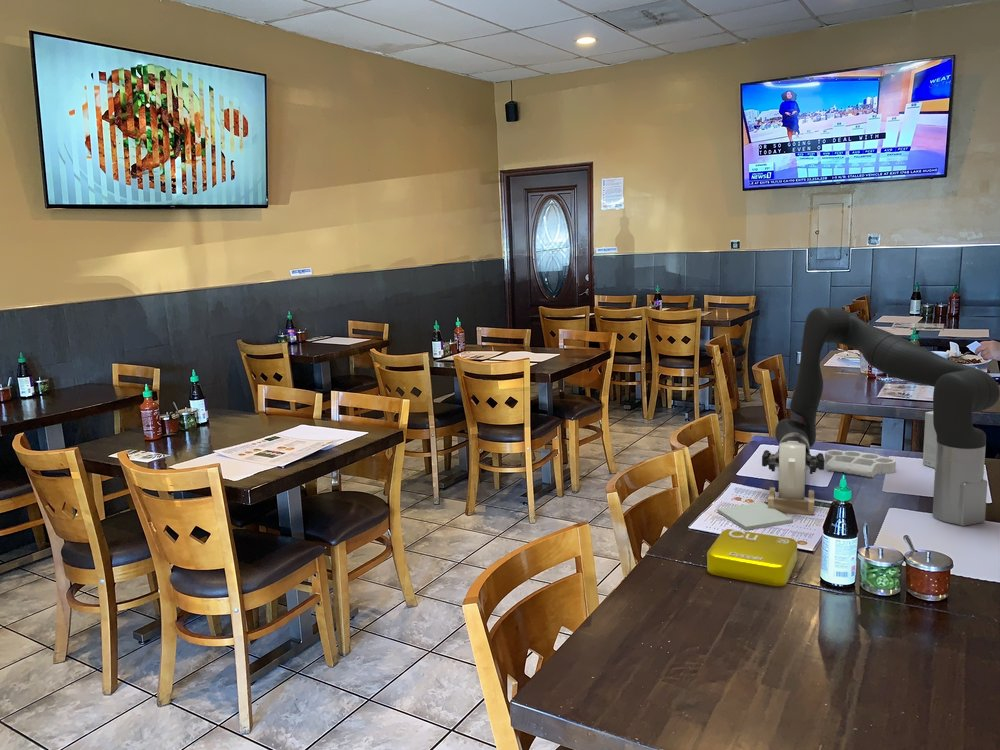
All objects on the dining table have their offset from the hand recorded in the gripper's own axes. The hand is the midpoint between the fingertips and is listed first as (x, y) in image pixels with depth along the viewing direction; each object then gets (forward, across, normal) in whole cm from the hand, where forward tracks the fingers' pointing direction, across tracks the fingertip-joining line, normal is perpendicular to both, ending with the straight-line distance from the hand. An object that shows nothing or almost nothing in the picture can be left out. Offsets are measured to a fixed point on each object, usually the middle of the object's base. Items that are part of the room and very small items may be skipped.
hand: (792, 468), depth 179 cm
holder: (+1, 0, +9) cm, 9 cm away
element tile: (+36, -6, +10) cm, 38 cm away
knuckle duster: (-33, +16, +10) cm, 38 cm away
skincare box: (-40, +37, +9) cm, 55 cm away
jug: (+2, 0, +9) cm, 9 cm away
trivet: (+10, -8, +9) cm, 16 cm away
